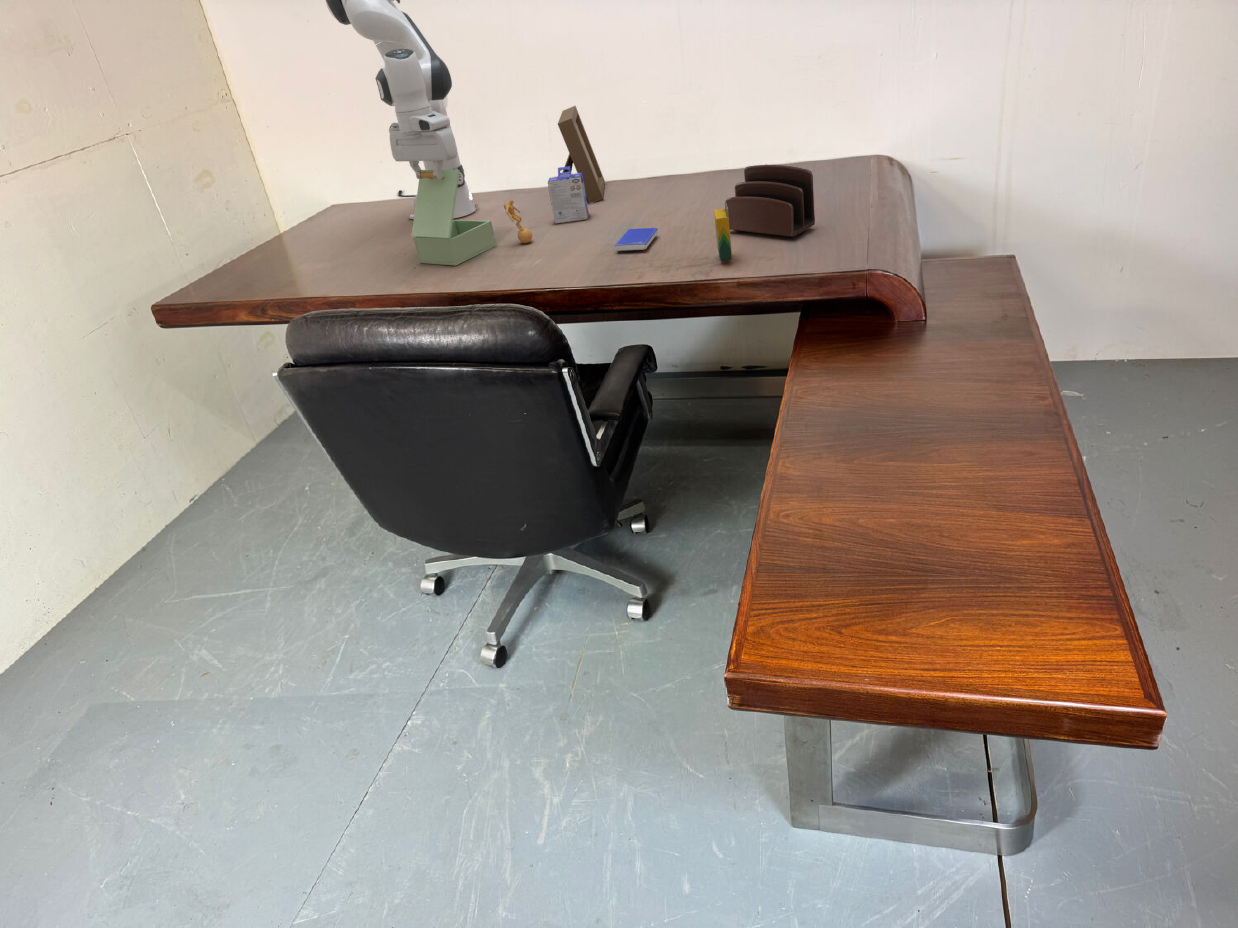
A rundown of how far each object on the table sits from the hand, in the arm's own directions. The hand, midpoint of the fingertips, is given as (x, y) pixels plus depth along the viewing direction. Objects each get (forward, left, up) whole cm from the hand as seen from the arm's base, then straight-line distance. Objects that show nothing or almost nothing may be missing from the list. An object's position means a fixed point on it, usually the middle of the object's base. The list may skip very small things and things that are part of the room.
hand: (430, 178), depth 216 cm
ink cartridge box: (+15, +36, -21) cm, 45 cm away
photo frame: (+2, +59, -21) cm, 63 cm away
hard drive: (+48, +19, -21) cm, 56 cm away
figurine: (+14, +14, -21) cm, 29 cm away
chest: (0, +3, -21) cm, 21 cm away
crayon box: (+76, +13, -21) cm, 80 cm away
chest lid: (0, 0, -7) cm, 7 cm away
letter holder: (+78, +34, -21) cm, 88 cm away
